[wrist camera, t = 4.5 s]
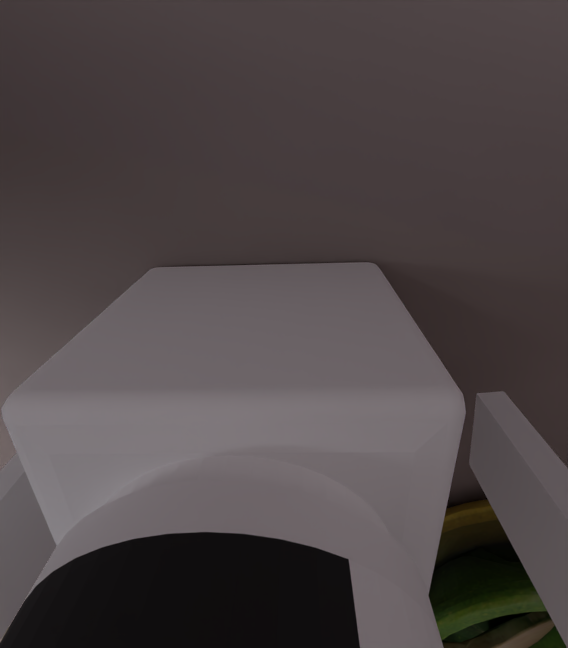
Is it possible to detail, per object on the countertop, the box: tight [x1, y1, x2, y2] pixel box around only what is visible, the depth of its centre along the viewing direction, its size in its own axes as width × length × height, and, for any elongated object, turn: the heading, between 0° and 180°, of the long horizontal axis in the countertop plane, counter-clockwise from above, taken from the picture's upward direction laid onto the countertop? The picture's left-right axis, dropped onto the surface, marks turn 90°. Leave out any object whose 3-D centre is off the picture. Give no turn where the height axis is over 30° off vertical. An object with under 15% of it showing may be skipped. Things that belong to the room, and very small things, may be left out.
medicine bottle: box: [0, 262, 466, 648], centre depth 8 cm, size 7×7×12 cm
